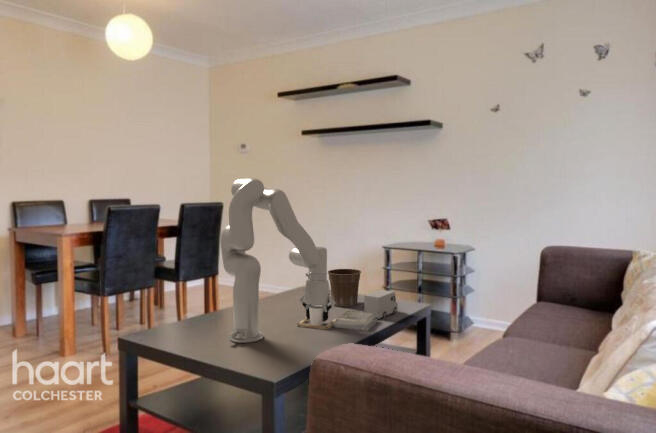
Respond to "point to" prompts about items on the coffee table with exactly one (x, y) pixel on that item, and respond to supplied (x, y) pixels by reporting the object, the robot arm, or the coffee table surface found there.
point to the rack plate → (356, 320)
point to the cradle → (301, 324)
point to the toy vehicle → (380, 303)
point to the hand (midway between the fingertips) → (317, 319)
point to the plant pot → (344, 286)
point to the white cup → (316, 314)
